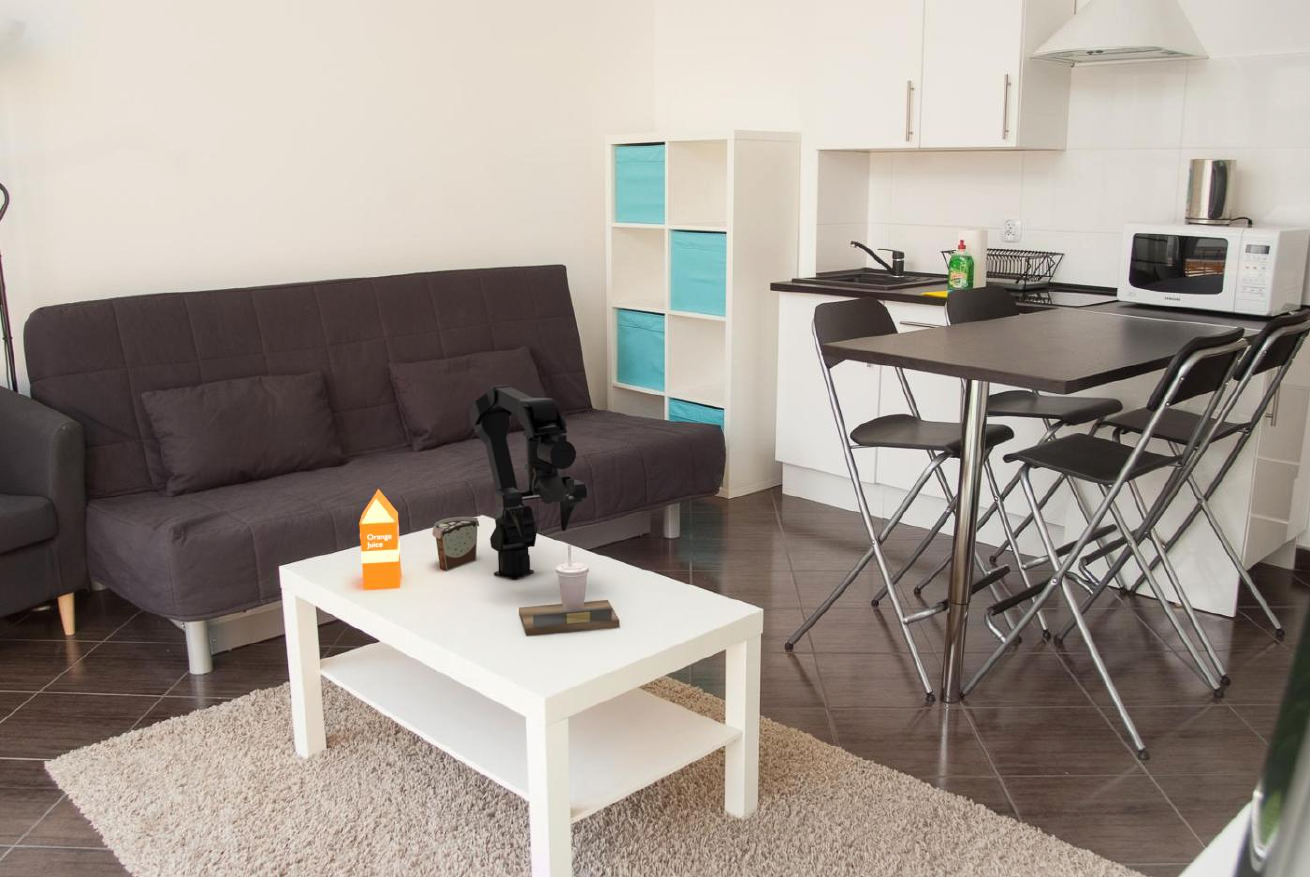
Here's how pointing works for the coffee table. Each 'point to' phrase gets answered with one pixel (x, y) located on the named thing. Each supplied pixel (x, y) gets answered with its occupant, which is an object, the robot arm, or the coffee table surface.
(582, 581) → the smoothie
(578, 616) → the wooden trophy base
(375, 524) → the orange juice
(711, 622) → the coffee table surface
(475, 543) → the brown cake slice
